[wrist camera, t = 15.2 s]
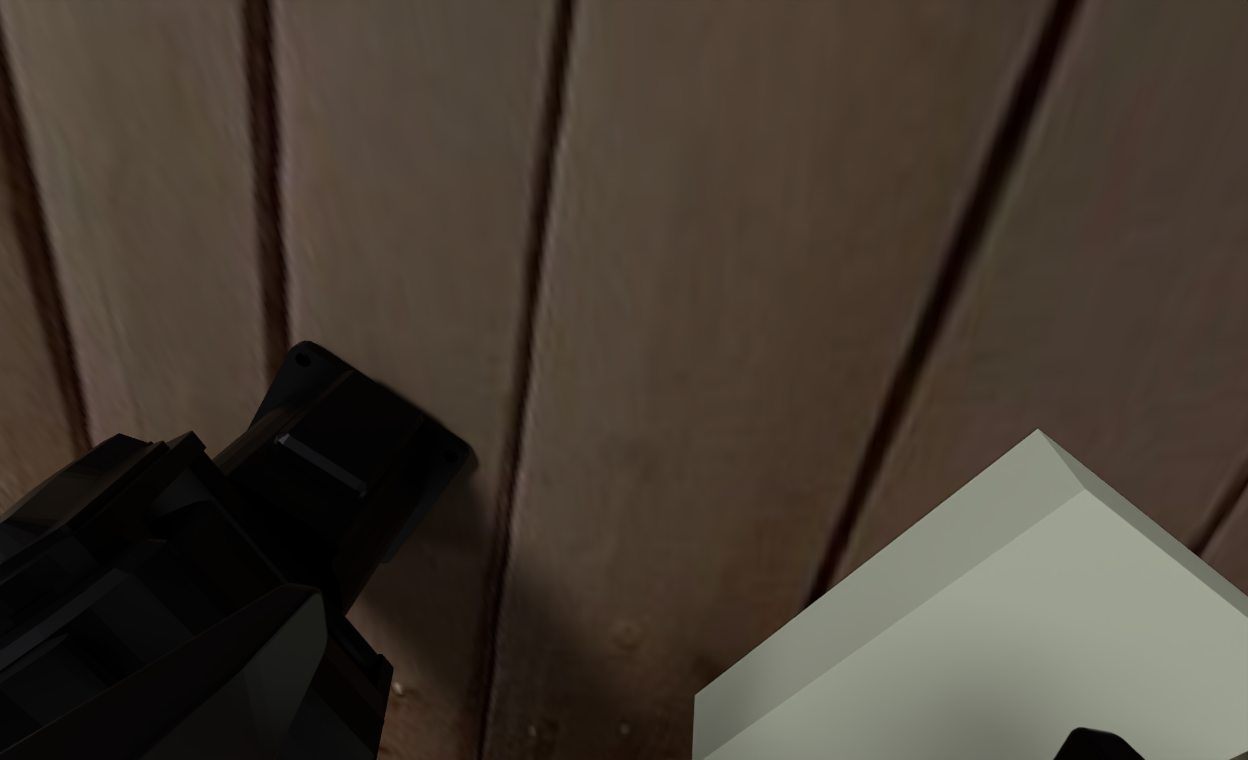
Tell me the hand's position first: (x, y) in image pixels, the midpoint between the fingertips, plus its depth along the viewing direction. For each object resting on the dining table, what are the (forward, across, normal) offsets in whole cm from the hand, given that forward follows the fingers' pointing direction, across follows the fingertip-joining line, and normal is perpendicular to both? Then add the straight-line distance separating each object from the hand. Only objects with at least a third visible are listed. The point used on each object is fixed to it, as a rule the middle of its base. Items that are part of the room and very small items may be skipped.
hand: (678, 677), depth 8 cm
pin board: (+13, -15, +15) cm, 25 cm away
